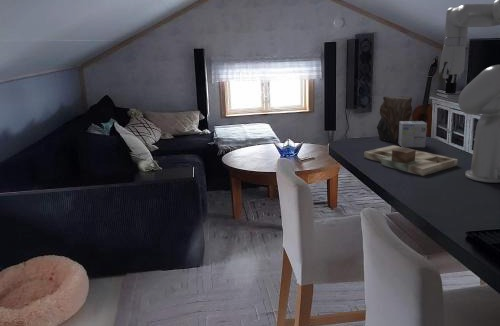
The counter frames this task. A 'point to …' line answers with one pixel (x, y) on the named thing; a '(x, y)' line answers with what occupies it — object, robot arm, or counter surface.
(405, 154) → the walnut block
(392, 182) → the counter surface
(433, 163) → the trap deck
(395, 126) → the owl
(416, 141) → the light bulb box
